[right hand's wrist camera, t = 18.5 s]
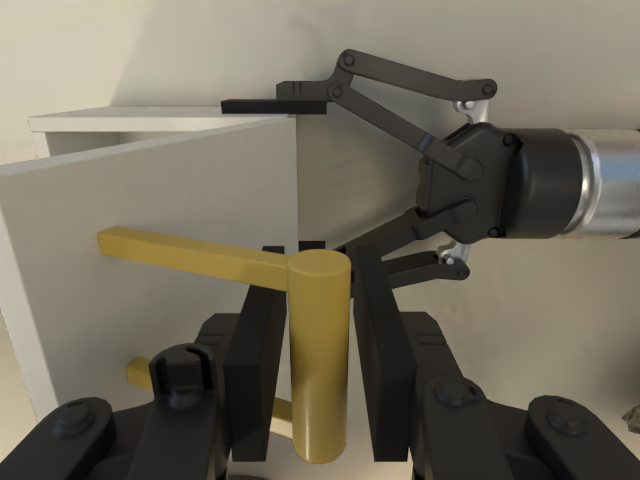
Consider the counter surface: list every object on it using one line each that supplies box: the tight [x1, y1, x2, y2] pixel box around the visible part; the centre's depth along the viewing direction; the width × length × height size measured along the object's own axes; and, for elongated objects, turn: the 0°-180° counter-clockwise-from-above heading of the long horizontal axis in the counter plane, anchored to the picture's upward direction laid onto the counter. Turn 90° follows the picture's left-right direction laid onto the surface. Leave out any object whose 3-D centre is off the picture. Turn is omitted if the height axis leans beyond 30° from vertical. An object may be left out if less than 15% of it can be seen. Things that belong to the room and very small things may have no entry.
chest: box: [28, 106, 298, 199], centre depth 30 cm, size 15×10×10 cm, turn 90°
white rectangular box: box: [0, 118, 351, 464], centre depth 17 cm, size 16×10×9 cm
